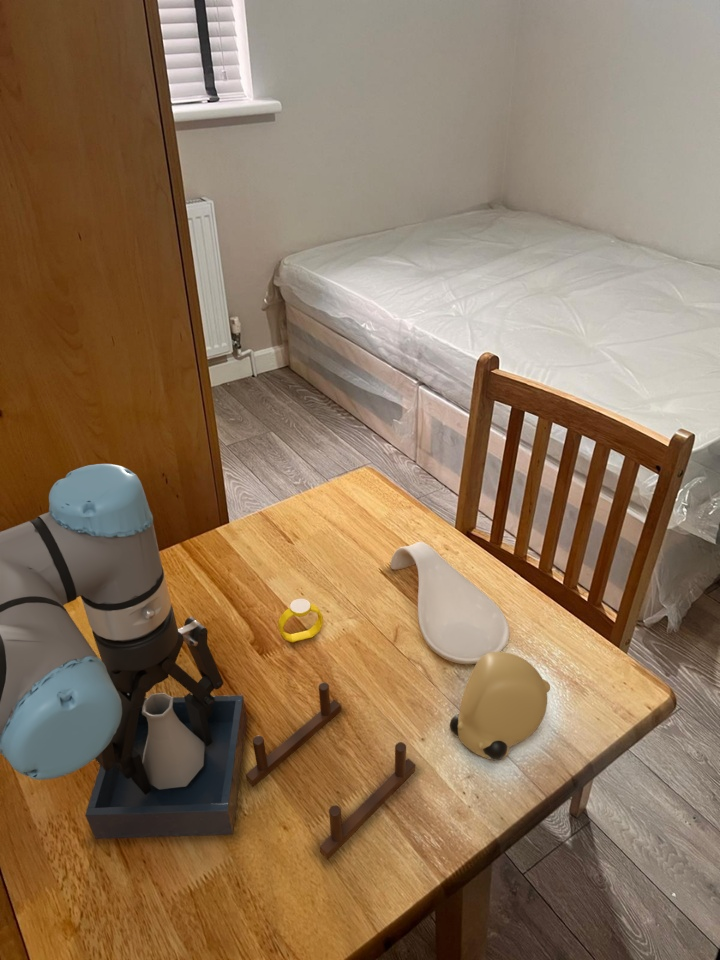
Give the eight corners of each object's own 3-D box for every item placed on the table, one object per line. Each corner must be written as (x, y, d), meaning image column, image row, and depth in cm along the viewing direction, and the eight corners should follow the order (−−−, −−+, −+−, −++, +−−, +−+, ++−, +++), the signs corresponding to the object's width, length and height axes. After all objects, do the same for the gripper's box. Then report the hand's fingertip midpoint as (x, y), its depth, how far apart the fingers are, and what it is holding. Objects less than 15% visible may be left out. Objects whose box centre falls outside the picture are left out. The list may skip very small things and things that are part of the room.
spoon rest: (524, 659, 96) (530, 620, 92) (447, 690, 92) (449, 652, 88) (434, 554, 114) (436, 517, 110) (366, 576, 110) (366, 539, 106)
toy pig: (463, 723, 92) (420, 723, 84) (508, 640, 92) (468, 632, 84) (526, 773, 86) (486, 778, 78) (575, 684, 86) (539, 680, 77)
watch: (283, 650, 98) (280, 619, 95) (278, 636, 100) (274, 605, 97) (325, 637, 100) (323, 606, 97) (319, 624, 102) (317, 593, 99)
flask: (157, 729, 86) (140, 672, 80) (215, 739, 84) (202, 682, 79) (129, 785, 80) (109, 728, 74) (191, 796, 78) (175, 739, 73)
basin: (232, 834, 77) (227, 810, 75) (95, 839, 77) (84, 815, 75) (247, 719, 89) (243, 694, 87) (128, 723, 89) (120, 698, 87)
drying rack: (327, 860, 75) (324, 828, 72) (246, 780, 83) (240, 748, 79) (415, 770, 83) (416, 738, 80) (334, 705, 91) (332, 673, 87)
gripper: (49, 702, 61) (109, 848, 74) (241, 579, 72) (264, 723, 86) (9, 655, 65) (73, 801, 78) (196, 546, 77) (224, 688, 90)
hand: (172, 760), depth 82 cm, fingers closed on flask, 7 cm apart
